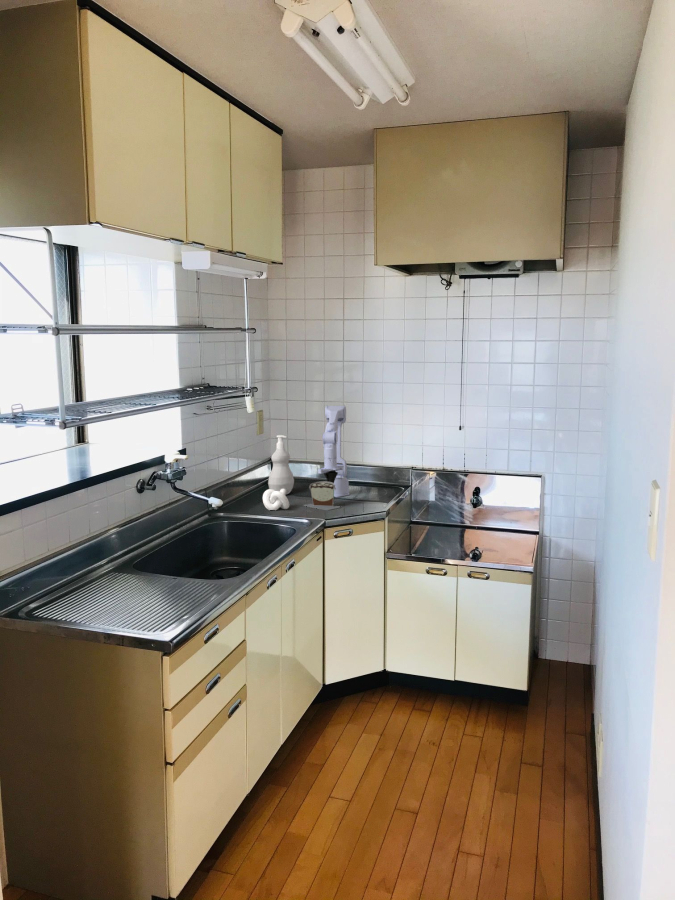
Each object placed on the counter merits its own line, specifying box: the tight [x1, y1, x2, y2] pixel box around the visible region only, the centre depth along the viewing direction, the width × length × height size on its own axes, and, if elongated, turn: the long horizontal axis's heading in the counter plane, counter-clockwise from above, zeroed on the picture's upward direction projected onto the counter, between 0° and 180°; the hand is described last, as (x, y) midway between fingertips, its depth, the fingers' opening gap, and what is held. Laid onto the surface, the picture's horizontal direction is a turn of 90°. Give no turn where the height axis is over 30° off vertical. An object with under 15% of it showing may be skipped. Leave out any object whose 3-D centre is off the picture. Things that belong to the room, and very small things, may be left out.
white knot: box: [262, 488, 290, 511], centre depth 322 cm, size 11×12×9 cm
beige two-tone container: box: [308, 480, 336, 506], centre depth 327 cm, size 12×6×10 cm, turn 74°
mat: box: [302, 502, 341, 512], centre depth 325 cm, size 9×16×1 cm, turn 46°
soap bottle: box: [267, 434, 295, 495], centre depth 356 cm, size 17×12×29 cm
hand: (330, 487), depth 328 cm, fingers closed, pressing on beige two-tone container
